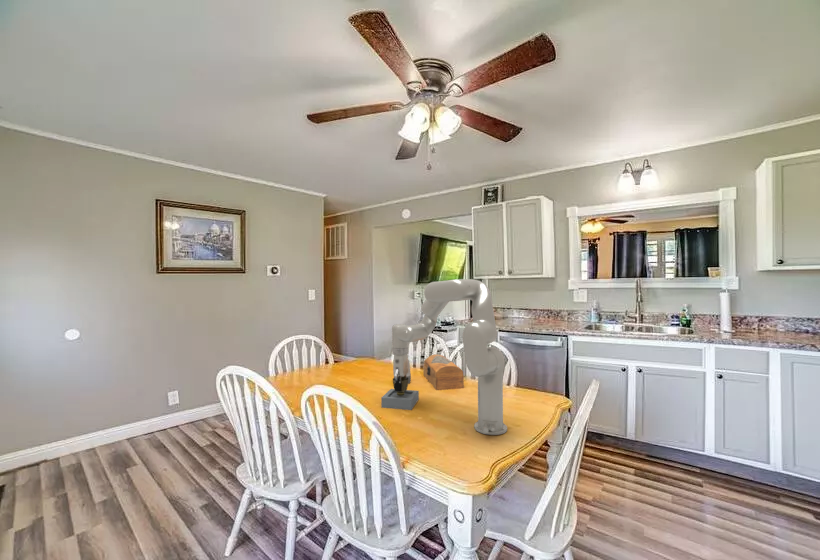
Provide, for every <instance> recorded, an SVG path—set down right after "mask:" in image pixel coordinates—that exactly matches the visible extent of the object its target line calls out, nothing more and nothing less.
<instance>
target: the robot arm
mask: <svg viewBox="0 0 820 560" xmlns="http://www.w3.org/2000/svg"><path fill="white" fill-rule="evenodd" d="M423 295H424V298H425V301H423V303H422V304H421V306H420V307H421V312H422V313H423V314H424V317H423V318H422V319H421V320H420V321H419V322H418V323H417V324H409V325H407V324H406V323H405V324H404V323H403V324H402V323H398V324H397V323H396V324H394V325H392V327H391V339H392V340H391V343H392V344H391V349H392V351H391V352H392V353H391V354H392V356H393V369H392V370H393V378H395V391H399V392H401V391H402V383H401V378H402V377H406V374H407V373H408V372H409V369H408V361H409V343H414V342H418V341H423V340H425V339H427V338H428V337H429V336H430V334H431V333H432V332H433V331H434V329H435V327H436V326H437V323H438V317H439V315H440V314H441V312H442V311H443V310H444V309H445V308H446V306H447V305H448V304H449V302H461V301H472V303H471V316H472V322H469V323H467V324H466V325H465V327H463V331H462V344H463V352H464V357H465V364H466V367H467V370H468V371H469V372H470V374H471V375H473V376H474V377H477V421H476V422H475V423H474V426H473V428H474V430H475V431H477V432H478V433H480V434H484V435H490V436H499V435H500V436H501V435H502V434H505V433H506V432H507V431H508V425H506V424H505V423H504V399H503V398H504V391H503V390H504V380H503V379H504V371H505V356H504V354H503V352H502V351H501V350H500V349H499V348H497V347H493V346H488V345H489V344H492V343H494V342H495V340H496V339H497V337H498V331H497V324H496V318H495V312H494V306H493V298H492V293H491V290H490V288H489V287H488V285H487V284H486V283H484V282H483V281H481V280H477V279H475V278H474V279H473V278H471V279H470V278H464V279H463V278H458V279H448V280H441V281H439V280H438V281H431V282H429V283H428V284H427V285H426V286H425V288H424V292H423ZM398 375H400V376H398ZM398 377H399V378H400V379H399V378H398Z"/></svg>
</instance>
